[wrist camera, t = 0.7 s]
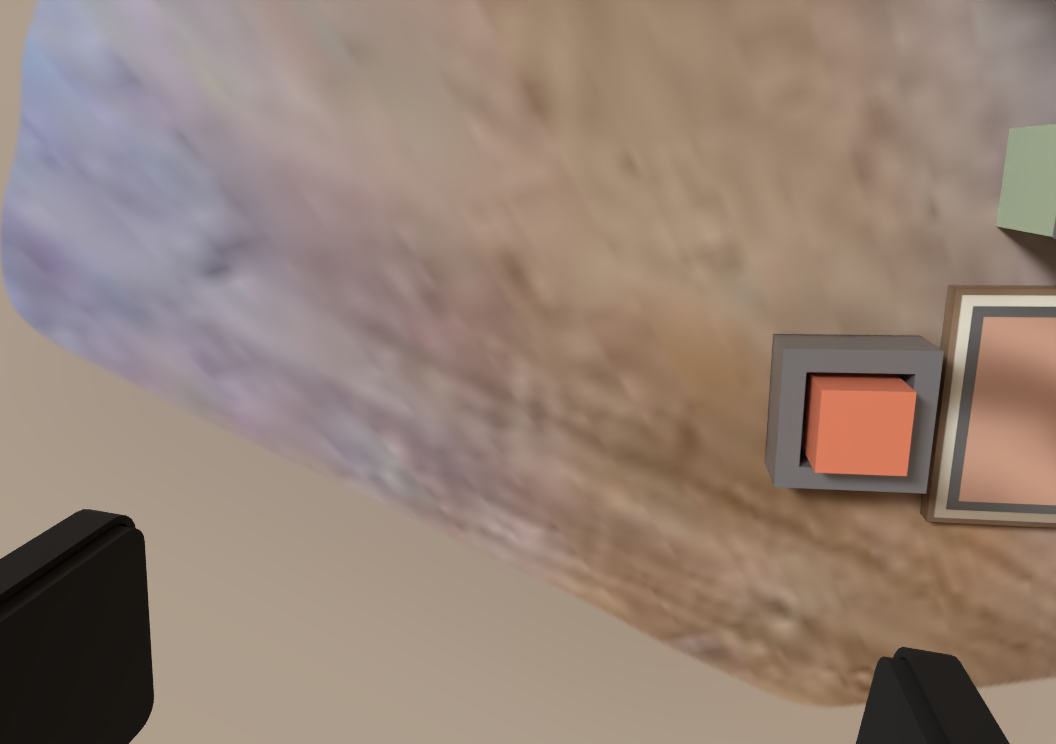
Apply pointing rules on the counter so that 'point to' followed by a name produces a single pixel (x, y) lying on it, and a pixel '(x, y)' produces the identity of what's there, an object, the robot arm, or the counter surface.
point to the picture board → (996, 409)
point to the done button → (858, 423)
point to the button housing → (848, 355)
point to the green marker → (1030, 181)
